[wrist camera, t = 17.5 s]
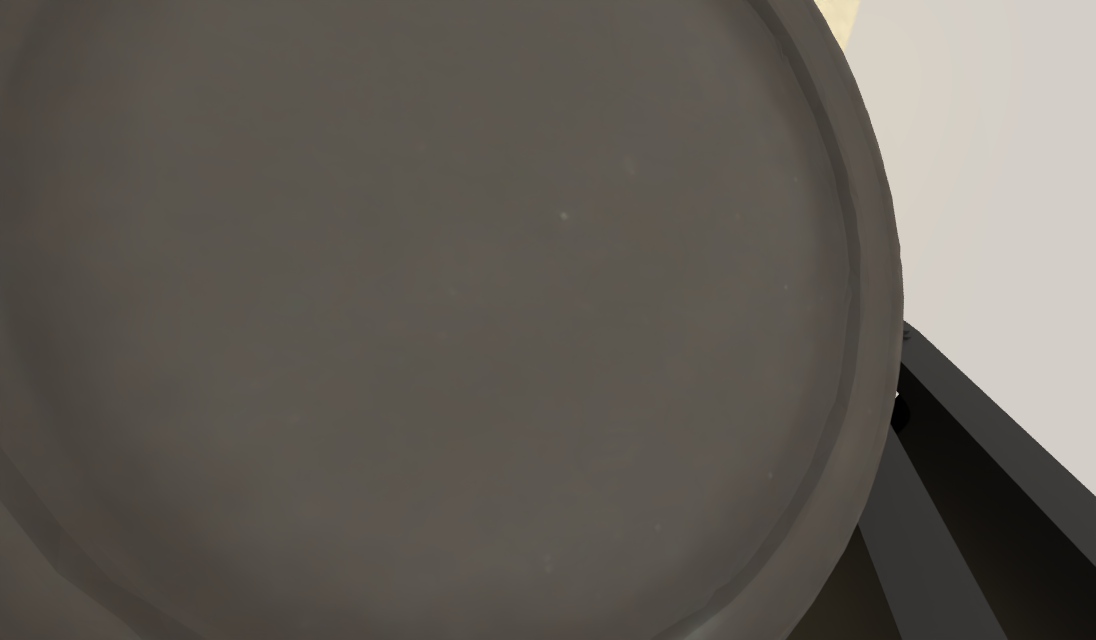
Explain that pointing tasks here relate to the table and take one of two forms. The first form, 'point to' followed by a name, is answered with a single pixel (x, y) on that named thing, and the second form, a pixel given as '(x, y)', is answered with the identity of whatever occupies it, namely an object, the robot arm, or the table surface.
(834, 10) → the table surface
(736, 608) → the coffee can
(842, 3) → the table surface
